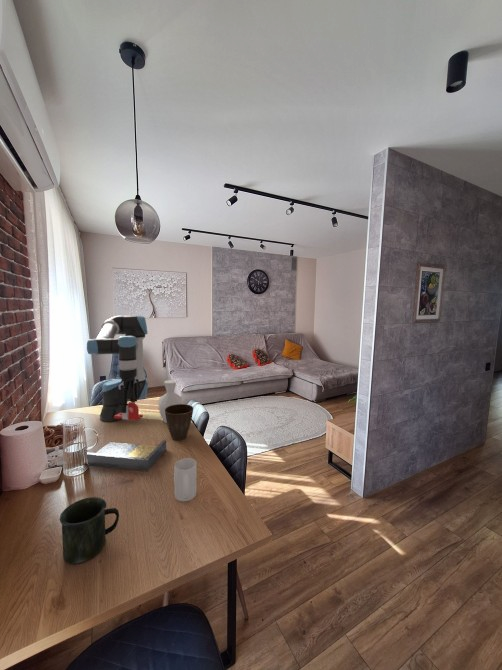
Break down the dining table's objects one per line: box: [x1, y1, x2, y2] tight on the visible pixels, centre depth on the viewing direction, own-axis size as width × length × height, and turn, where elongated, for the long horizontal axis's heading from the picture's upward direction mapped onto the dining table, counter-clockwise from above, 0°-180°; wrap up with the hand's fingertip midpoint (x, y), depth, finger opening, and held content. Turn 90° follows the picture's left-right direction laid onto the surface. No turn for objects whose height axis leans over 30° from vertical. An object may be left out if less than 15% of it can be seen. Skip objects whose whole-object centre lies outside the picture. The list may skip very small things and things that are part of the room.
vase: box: [158, 379, 183, 424], centre depth 167 cm, size 14×14×25 cm
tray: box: [86, 439, 167, 472], centre depth 126 cm, size 18×30×5 cm, turn 82°
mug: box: [59, 496, 120, 565], centre depth 78 cm, size 11×15×12 cm
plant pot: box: [165, 403, 194, 441], centre depth 146 cm, size 15×15×16 cm
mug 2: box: [173, 457, 198, 502], centre depth 99 cm, size 8×12×12 cm
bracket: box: [114, 401, 144, 421], centre depth 128 cm, size 12×4×8 cm, turn 80°
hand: (128, 416), depth 128 cm, fingers closed on bracket, 4 cm apart
